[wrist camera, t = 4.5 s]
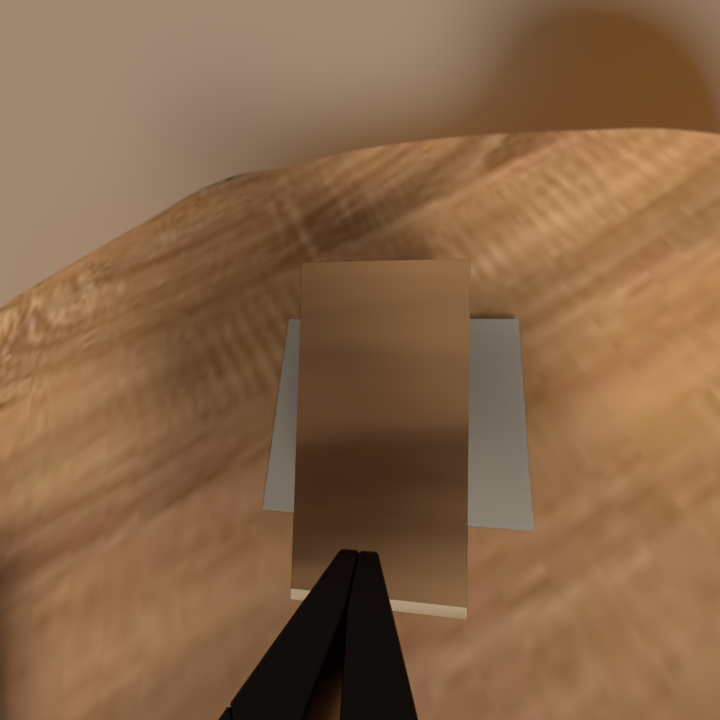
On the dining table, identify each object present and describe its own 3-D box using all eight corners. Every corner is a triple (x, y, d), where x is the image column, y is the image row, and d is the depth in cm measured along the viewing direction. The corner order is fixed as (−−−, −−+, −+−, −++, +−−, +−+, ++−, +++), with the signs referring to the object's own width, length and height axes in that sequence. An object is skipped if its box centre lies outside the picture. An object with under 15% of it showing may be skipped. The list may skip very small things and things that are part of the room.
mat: (531, 530, 16) (533, 530, 15) (265, 509, 18) (262, 509, 17) (516, 322, 19) (518, 319, 18) (291, 322, 21) (288, 318, 20)
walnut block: (466, 619, 11) (470, 258, 12) (290, 598, 12) (302, 262, 12) (453, 546, 16) (456, 296, 16) (330, 535, 17) (337, 297, 17)
